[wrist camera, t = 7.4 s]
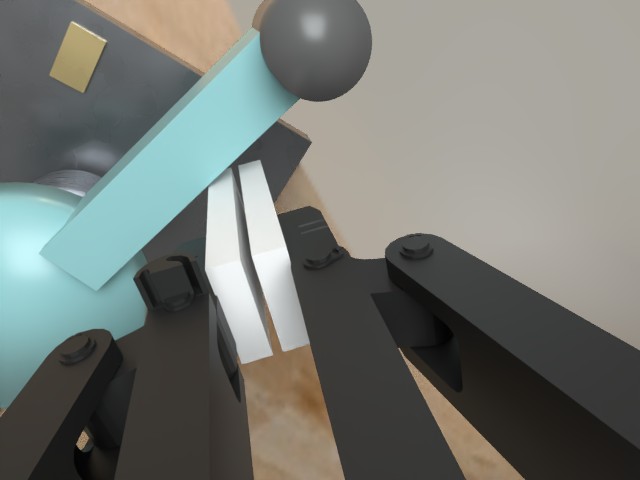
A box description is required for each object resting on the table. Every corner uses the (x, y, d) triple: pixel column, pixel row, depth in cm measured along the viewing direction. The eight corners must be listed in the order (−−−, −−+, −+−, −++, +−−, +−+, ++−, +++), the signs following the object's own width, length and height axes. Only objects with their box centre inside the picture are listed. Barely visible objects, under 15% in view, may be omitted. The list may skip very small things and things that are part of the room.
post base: (306, 134, 24) (337, 179, 18) (159, 374, 29) (144, 471, 23) (-36, -72, 18) (-167, -110, 12) (-147, 282, 23) (-278, 383, 17)
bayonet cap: (85, 403, 20) (52, 504, 16) (-173, 272, 15) (-311, 369, 11) (404, 118, 17) (464, 155, 13) (204, -152, 12) (199, -225, 8)
